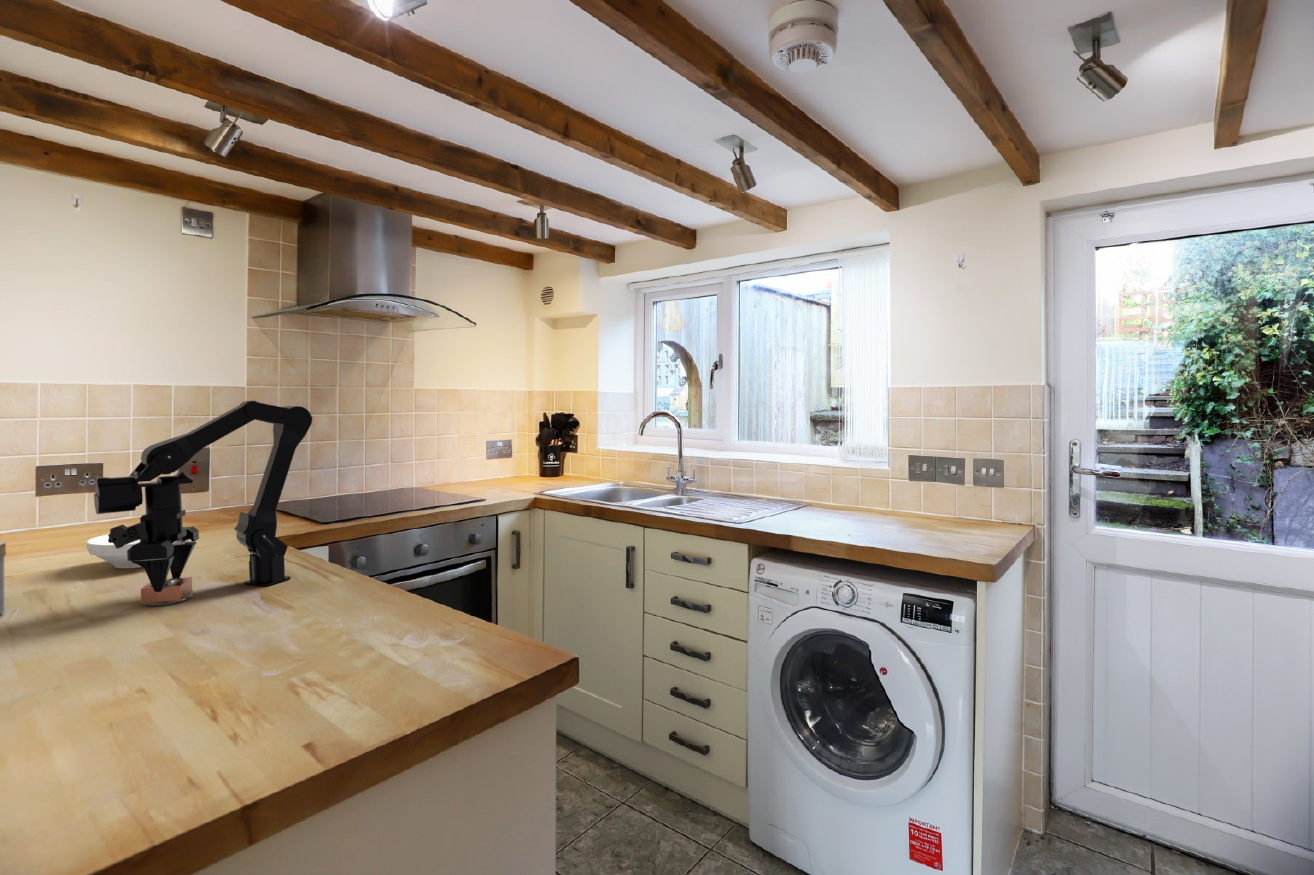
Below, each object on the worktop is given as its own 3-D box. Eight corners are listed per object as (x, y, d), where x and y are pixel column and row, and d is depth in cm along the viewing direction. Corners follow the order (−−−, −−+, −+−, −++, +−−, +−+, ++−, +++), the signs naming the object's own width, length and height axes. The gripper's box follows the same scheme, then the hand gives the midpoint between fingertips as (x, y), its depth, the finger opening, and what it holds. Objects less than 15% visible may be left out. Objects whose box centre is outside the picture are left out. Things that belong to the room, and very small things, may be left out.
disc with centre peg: (202, 596, 134) (201, 576, 133) (162, 608, 126) (161, 587, 126) (172, 592, 136) (171, 573, 136) (132, 604, 128) (131, 584, 128)
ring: (192, 591, 135) (191, 577, 135) (181, 600, 129) (180, 585, 129) (154, 594, 133) (154, 580, 133) (141, 604, 127) (140, 588, 127)
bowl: (64, 574, 151) (62, 543, 150) (144, 554, 170) (142, 526, 170) (137, 577, 148) (135, 546, 147) (210, 557, 167) (208, 529, 166)
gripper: (135, 502, 136) (139, 576, 137) (90, 518, 119) (95, 603, 119) (198, 500, 140) (201, 572, 141) (163, 514, 122) (167, 597, 123)
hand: (167, 585), depth 131 cm, fingers open, 9 cm apart
